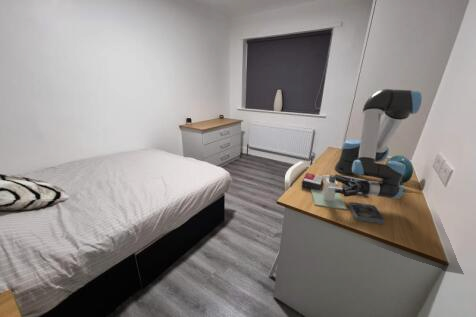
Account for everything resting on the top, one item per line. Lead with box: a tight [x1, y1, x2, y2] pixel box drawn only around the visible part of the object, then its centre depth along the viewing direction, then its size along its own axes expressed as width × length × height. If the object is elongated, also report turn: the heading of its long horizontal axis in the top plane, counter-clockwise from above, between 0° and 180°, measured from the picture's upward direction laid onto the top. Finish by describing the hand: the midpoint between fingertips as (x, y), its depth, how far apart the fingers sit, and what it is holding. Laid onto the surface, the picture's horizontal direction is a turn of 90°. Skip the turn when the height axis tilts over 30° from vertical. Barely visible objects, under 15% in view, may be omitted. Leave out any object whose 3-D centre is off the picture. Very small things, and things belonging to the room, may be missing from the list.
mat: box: [310, 188, 348, 210], centre depth 111 cm, size 16×16×1 cm
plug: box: [322, 174, 339, 201], centre depth 109 cm, size 5×5×14 cm
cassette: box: [341, 175, 367, 189], centre depth 121 cm, size 12×2×8 cm, turn 66°
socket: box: [348, 201, 386, 225], centre depth 99 cm, size 12×12×2 cm
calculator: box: [301, 172, 323, 190], centre depth 126 cm, size 11×4×15 cm
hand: (325, 182), depth 108 cm, fingers open, 13 cm apart
